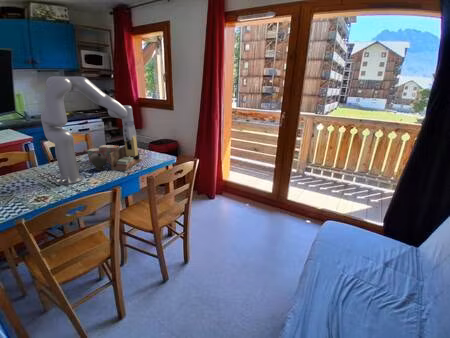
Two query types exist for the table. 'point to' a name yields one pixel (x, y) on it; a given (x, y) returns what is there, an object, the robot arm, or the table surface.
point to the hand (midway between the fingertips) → (131, 148)
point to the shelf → (118, 156)
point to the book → (134, 148)
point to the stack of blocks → (103, 151)
